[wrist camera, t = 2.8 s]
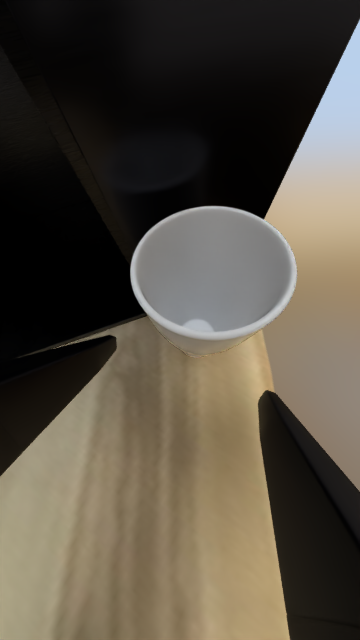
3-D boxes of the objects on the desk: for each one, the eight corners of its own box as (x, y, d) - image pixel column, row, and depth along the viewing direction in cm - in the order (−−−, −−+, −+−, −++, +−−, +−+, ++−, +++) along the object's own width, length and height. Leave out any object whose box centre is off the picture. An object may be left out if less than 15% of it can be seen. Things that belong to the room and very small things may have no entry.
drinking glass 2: (167, 324, 21) (116, 225, 7) (210, 311, 21) (249, 188, 7) (180, 370, 18) (143, 370, 4) (228, 355, 18) (347, 305, 4)
